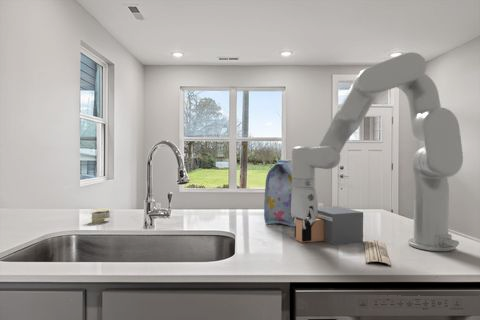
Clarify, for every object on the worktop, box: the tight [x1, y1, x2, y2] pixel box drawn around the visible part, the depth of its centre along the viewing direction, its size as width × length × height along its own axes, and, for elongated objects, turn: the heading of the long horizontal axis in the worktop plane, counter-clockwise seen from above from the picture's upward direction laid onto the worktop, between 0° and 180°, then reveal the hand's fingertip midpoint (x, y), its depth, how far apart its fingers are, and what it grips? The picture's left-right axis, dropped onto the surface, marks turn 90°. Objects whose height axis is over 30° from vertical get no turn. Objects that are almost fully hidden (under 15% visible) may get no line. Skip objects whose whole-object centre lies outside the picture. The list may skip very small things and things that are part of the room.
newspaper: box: [363, 239, 392, 267], centre depth 101 cm, size 24×7×2 cm, turn 161°
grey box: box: [317, 205, 364, 245], centre depth 119 cm, size 14×13×10 cm
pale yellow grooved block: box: [90, 207, 111, 224], centre depth 146 cm, size 10×9×6 cm
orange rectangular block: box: [295, 217, 325, 243], centre depth 117 cm, size 4×18×7 cm, turn 110°
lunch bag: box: [263, 159, 295, 228], centre depth 149 cm, size 22×17×26 cm
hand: (302, 238), depth 115 cm, fingers closed on orange rectangular block, 4 cm apart
